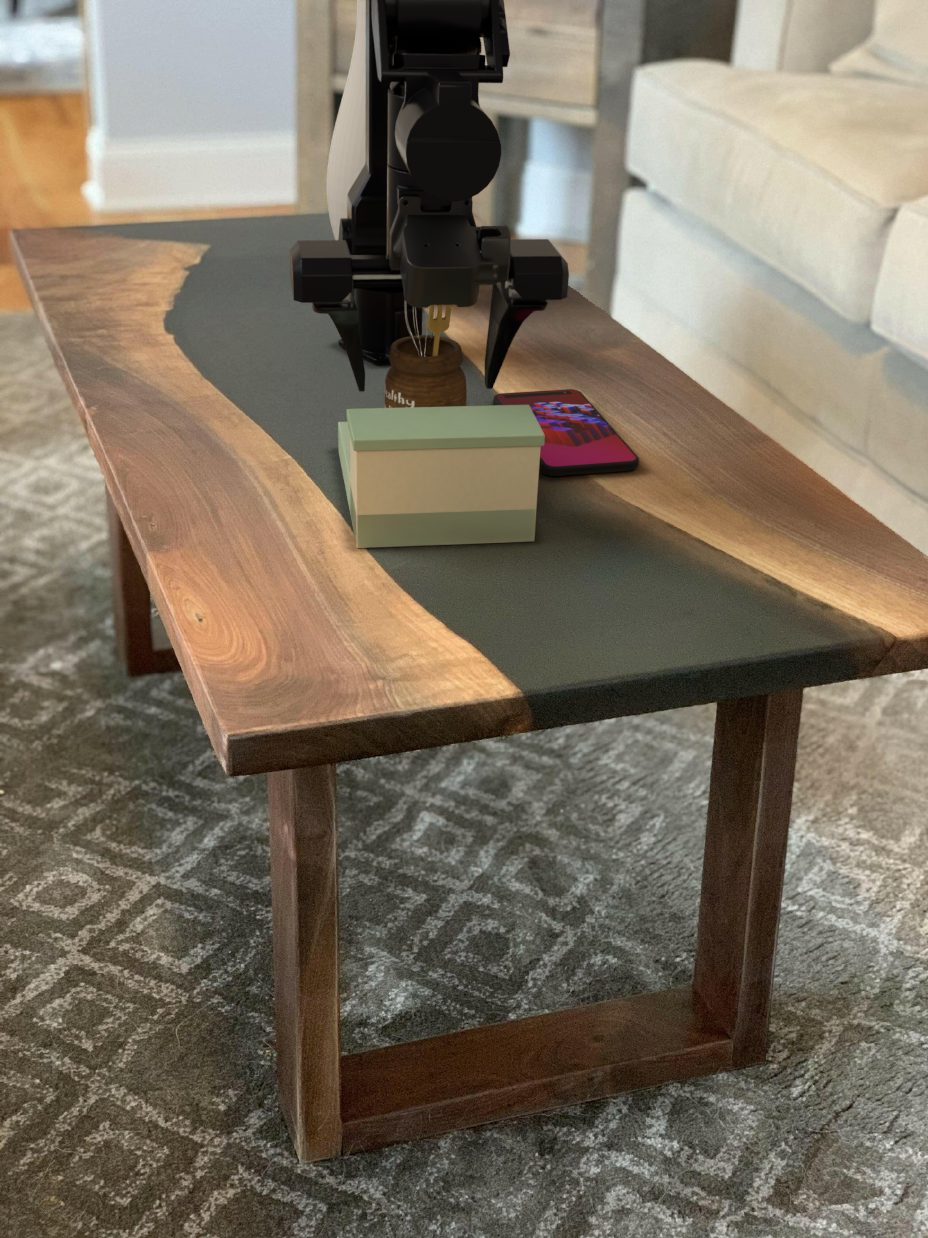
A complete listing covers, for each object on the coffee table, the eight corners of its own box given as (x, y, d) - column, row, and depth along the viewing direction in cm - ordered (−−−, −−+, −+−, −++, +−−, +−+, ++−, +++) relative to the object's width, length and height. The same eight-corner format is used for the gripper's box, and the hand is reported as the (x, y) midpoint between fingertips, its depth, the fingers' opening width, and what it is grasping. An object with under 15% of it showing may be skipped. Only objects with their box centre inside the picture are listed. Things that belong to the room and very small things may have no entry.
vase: (312, 305, 138) (305, -31, 123) (347, 267, 149) (345, -44, 134) (449, 318, 136) (460, -22, 121) (474, 278, 147) (487, -36, 132)
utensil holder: (449, 418, 106) (451, 261, 100) (478, 450, 101) (483, 286, 95) (374, 427, 105) (372, 267, 99) (400, 460, 100) (400, 293, 94)
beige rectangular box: (335, 452, 107) (334, 353, 103) (496, 447, 108) (501, 350, 105) (353, 549, 93) (353, 440, 89) (537, 542, 95) (545, 434, 91)
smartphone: (545, 468, 103) (490, 393, 116) (544, 479, 104) (489, 403, 116) (644, 461, 105) (579, 387, 117) (642, 472, 105) (578, 397, 118)
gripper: (294, 193, 85) (300, 435, 93) (595, 193, 88) (576, 428, 95) (286, 154, 94) (292, 376, 102) (558, 155, 97) (544, 371, 105)
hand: (425, 388), depth 101 cm, fingers open, 9 cm apart
